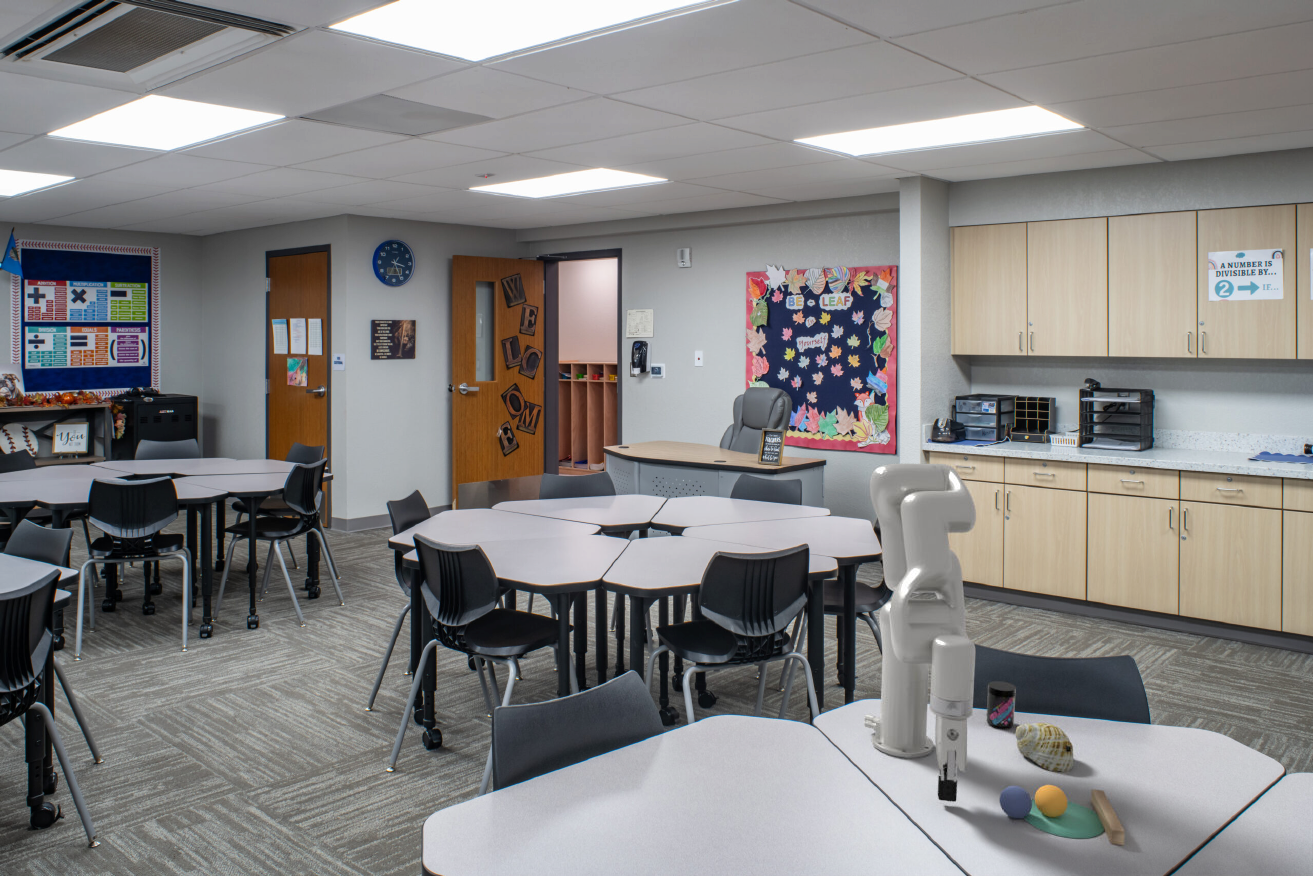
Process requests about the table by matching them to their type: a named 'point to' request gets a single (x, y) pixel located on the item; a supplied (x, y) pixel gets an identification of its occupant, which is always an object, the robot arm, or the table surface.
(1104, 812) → the wall
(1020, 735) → the seashell
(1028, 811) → the slate blue ball
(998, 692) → the supplement container
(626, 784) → the table surface
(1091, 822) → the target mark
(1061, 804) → the orange ball
